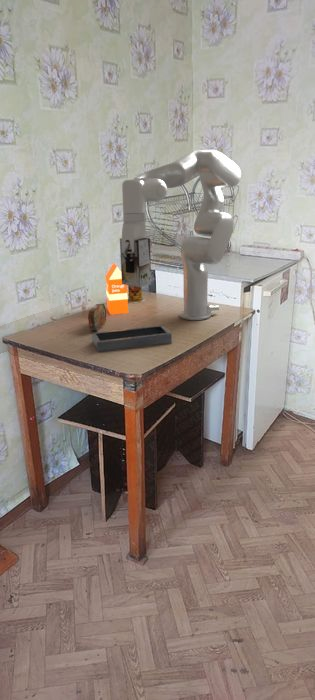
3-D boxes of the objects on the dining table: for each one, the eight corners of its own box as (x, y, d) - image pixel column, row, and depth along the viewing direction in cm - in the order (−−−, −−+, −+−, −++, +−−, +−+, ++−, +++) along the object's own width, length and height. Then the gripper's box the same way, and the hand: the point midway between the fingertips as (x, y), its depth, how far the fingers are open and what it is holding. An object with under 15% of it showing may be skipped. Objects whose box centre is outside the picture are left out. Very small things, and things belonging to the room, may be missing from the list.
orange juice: (110, 314, 215) (107, 266, 208) (107, 308, 223) (104, 262, 216) (128, 312, 217) (126, 265, 210) (125, 307, 225) (122, 261, 218)
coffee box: (152, 284, 182) (151, 238, 176) (140, 287, 177) (138, 240, 172) (132, 281, 187) (131, 235, 182) (120, 284, 183) (118, 238, 177)
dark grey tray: (162, 334, 190) (162, 324, 189) (171, 343, 181) (171, 333, 179) (92, 342, 183) (91, 333, 182) (97, 352, 174) (97, 342, 173)
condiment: (133, 303, 230) (132, 277, 226) (123, 299, 237) (121, 273, 232) (146, 300, 234) (145, 274, 230) (136, 297, 241) (135, 271, 236)
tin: (95, 333, 193) (94, 311, 190) (87, 333, 193) (86, 311, 190) (107, 321, 206) (106, 301, 203) (100, 321, 207) (98, 300, 204)
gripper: (137, 215, 183) (138, 265, 189) (111, 220, 169) (113, 274, 175) (156, 216, 180) (157, 267, 186) (131, 221, 166) (132, 276, 172)
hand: (135, 270), depth 180 cm, fingers closed on coffee box, 7 cm apart
